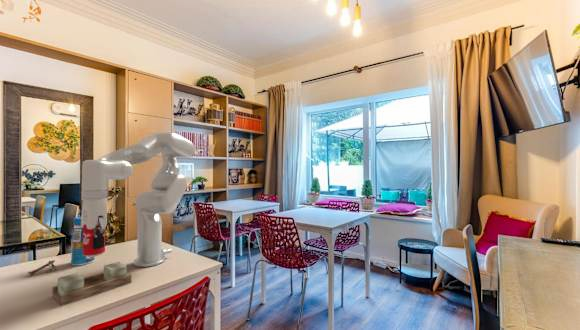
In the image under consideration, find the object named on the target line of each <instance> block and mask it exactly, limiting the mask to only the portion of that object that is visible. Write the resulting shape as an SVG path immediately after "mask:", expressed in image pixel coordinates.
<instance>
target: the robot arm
mask: <svg viewBox="0 0 580 330" xmlns="http://www.w3.org/2000/svg"><path fill="white" fill-rule="evenodd" d="M160 153H161V159H162V165H161V166H160V168H159V169H158V171H157V173H156V175H155V176H154V177H153V179H152V181H151V184H150V188H151V190H152V191H151V190H149V191H148V190H146V191H142V192H141V193H139V194H138V195H137V196H136V197H135V211H136V214H137V215H136V216H137V245H136V246H137V251H136V252H137V254H136V255H137V256H136V258H135V259H134V260H133V262H132V264H133V266H135V267H138V268H144V267H145V268H148V267H152V266H158V265H160V264H162V263H164V261H166V257H165V255H167V254H171V253H172V252H173V251H172V248H162V241H163V240H162V234H163V232H162V230H163V229H162V228H163V221H162V217H161V215H160V214H162V215H167V214H168V215H169V214H172V213H173V212H174V211H175V210H176V208H177V207H178V205H179V203H180V201H181V199H182V198H183V196H184V194H185V192H186V190H187V185H188V180H187V178H186V176H185V175H184V174H181V173H180V171H181V168H180V166H181V165H179V163H178V160H177V159H178V158H179V159H188V158H191V157H193V156H194V155H195V153H196V146H195V145H194V143H193V142H192V141H191V140H189V139H188V138H185V136H182V135H179V134H177V133H176V132H154V133H152V134H150V135H148V136H146V137H144V138H143V139H142V140H140V141H138V142H136V143H135V144H132V145H128V146H126V147H123V148H120V149H117V150H114V151H111V152H109V153H107V154H105V155H103V156H102V157H100V158H98V159H85V160H84V161H83V162H82V167H81V168H82V169H81V201H82V206H81V215H80V217H81V226H83V225H84V224H86V226H87V229H89V230H92V229H93V233H94V237H93V249H98V248H103V247H104V235H105V236H106V227H107V226H108V225H107V224H108V208H107V200H108V199H109V186H110V185H109V183H110V180H111V181H112V180H116V181H122V180H127V179H128V178H130V177H131V176H132V175H133V170H134V169H133V168H134V167H133V165H138V164H142V163H146V162H149V161H150V160H151V159H153V157H155V156H157V155H159V154H160ZM96 226H99V227H98V228H95V227H96ZM96 230H98V231H97V232H96ZM104 232H105V234H104Z"/></svg>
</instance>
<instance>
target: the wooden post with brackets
mask: <svg viewBox="0 0 580 330" xmlns="http://www.w3.org/2000/svg"><path fill="white" fill-rule="evenodd" d="M47 267H51V268H49V269H47V270H45V271H44V273H45V274H48V273H49V272H51V271H53V270H55V271H57V270H58V269H57V267H56V265H55V260H49V261H48V263H46V264H44V265H42V266H40V267H38V268H37V269H34V270H32V271H28V275H29V277H32V276H33V275H34V274H36V273H37V272H39V271H42V270H43V269H45V268H47Z"/></svg>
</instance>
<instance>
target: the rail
mask: <svg viewBox="0 0 580 330" xmlns="http://www.w3.org/2000/svg"><path fill="white" fill-rule="evenodd" d="M127 269H128V268H127V265H125V264H124V263H121V262H120V261H116V262H113V263H109V264H105V265H103V272H100V273H96V274H94V275H89V276H86V277H83V276H81V274H79V273H77V272H75V273H72V274H68V275H63V276H60V277H57V285H55V286H52V297H53V299H55V300H56V301H57V303H58V304H59V305H60V306H66V305H69V304H72V303H74V302H77V301H81V300H83V299H86V298H89V297H92V296H95V295H98V294H101V293H104V292H107V291H109V290H113V289H116V288H119V287H122V286H125V285H128V284H130V283H132V273H128V274H127Z"/></svg>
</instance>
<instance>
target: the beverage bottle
mask: <svg viewBox="0 0 580 330" xmlns="http://www.w3.org/2000/svg"><path fill="white" fill-rule="evenodd" d="M73 226H74V228H73V229H72V230H71V233H70V235H71V238H70V243H71V253H70V254H71V258H70V264H71V265H72V266H77V267H78V266H79V267H80V266H84V265H88V264H91V263H93V262H94V261H95V258H96V256H93V257H87V256H84V255H83V226H81V216H77V217H74V218H73Z"/></svg>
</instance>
